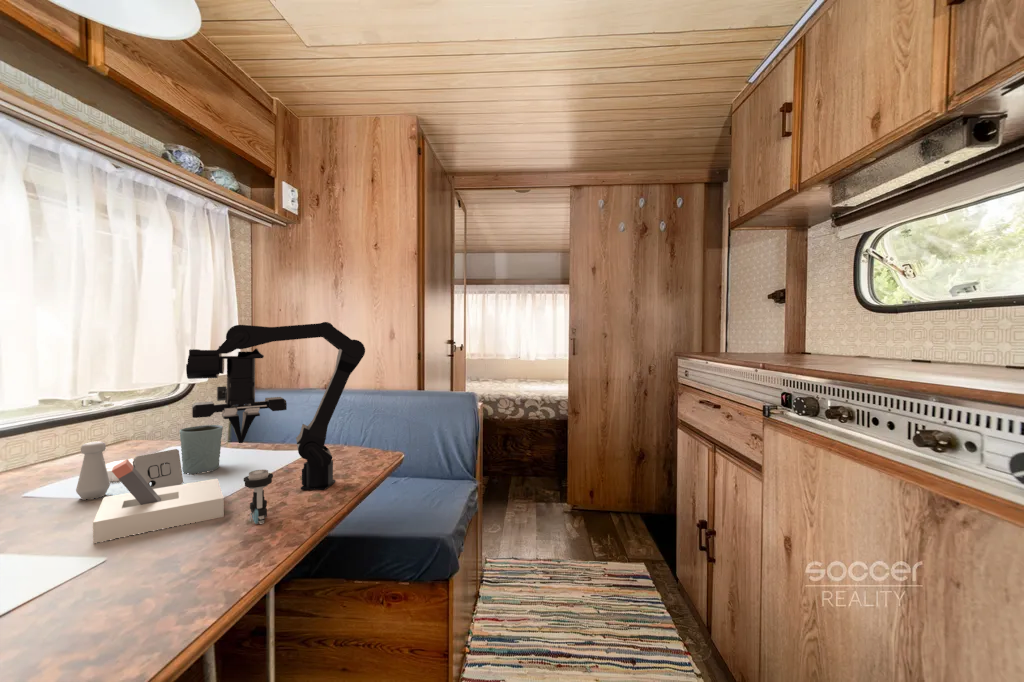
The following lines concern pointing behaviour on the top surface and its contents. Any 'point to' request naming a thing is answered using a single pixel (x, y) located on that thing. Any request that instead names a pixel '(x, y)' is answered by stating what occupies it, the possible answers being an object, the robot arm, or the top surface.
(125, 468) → the lever
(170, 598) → the top surface
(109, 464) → the mooncake
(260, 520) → the push button
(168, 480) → the electrical switch
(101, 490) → the salt shaker
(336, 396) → the robot arm
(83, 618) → the top surface
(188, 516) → the box
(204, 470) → the green cup
